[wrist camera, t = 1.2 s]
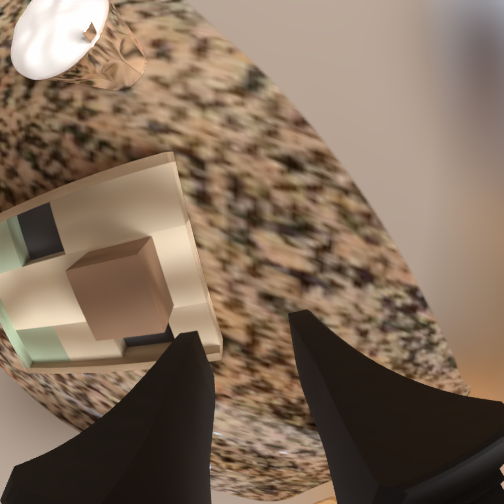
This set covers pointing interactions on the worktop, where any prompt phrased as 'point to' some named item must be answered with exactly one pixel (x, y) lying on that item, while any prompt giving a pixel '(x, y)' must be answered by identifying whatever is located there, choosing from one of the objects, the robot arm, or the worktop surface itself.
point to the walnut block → (122, 290)
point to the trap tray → (89, 239)
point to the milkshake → (77, 44)
